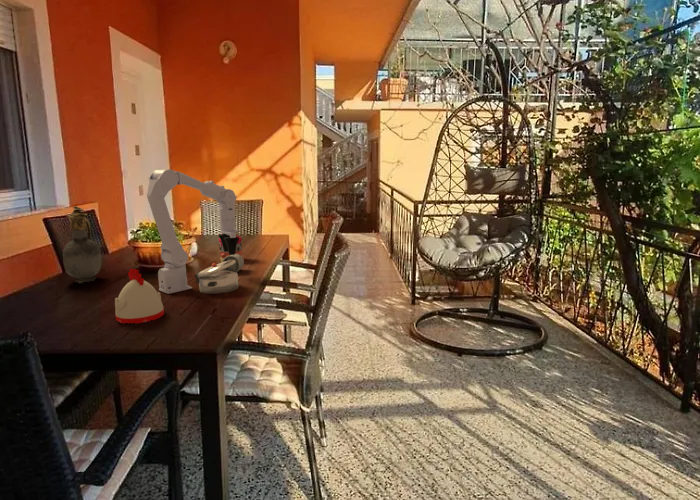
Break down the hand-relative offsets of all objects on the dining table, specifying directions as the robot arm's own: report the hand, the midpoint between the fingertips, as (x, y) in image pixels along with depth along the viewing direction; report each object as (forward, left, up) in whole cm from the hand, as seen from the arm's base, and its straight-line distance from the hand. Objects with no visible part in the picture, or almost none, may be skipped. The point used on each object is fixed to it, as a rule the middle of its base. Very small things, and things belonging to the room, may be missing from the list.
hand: (229, 253), depth 193 cm
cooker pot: (-12, -11, -10) cm, 19 cm away
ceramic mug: (+5, +8, -10) cm, 14 cm away
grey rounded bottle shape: (-41, +42, -10) cm, 60 cm away
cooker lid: (-12, -10, -3) cm, 16 cm away
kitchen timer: (-45, -20, -10) cm, 50 cm away
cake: (+17, +27, -10) cm, 34 cm away
